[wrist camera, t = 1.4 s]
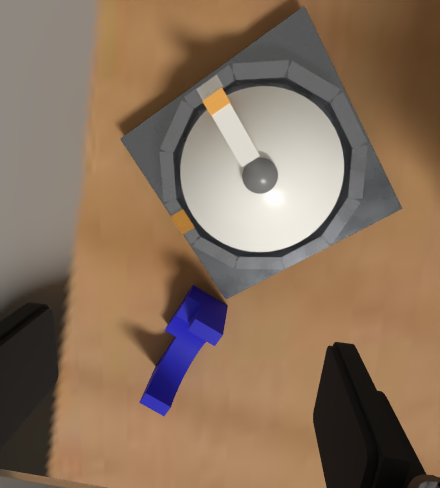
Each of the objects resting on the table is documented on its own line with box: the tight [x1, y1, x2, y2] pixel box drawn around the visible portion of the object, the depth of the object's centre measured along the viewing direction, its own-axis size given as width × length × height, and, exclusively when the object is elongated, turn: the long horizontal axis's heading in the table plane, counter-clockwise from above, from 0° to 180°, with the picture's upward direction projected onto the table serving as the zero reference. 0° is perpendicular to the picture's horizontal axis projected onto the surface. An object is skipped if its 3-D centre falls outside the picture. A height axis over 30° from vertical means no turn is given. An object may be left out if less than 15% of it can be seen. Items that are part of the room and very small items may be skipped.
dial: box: [180, 86, 344, 252], centre depth 27 cm, size 14×14×5 cm
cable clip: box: [140, 285, 227, 416], centre depth 35 cm, size 12×4×6 cm, turn 149°
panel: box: [121, 6, 402, 299], centre depth 29 cm, size 19×19×4 cm
